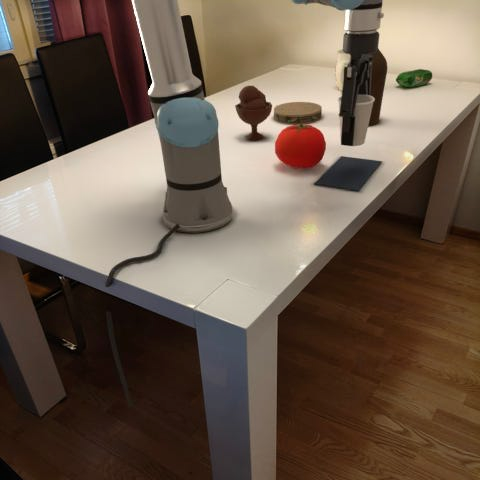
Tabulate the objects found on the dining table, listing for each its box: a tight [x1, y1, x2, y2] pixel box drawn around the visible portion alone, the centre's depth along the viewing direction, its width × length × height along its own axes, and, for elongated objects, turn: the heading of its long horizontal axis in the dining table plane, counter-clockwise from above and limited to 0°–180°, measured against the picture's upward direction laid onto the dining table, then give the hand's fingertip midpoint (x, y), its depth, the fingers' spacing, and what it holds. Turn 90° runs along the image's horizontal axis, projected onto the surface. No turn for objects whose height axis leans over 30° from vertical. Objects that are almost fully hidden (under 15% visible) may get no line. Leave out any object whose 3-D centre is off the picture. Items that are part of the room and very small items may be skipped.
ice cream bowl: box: [234, 85, 273, 142], centre depth 144 cm, size 11×11×15 cm
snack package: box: [395, 68, 433, 88], centre depth 188 cm, size 7×16×5 cm, turn 120°
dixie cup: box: [337, 94, 375, 147], centre depth 115 cm, size 8×8×10 cm
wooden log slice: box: [273, 101, 323, 126], centre depth 163 cm, size 16×16×3 cm
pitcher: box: [334, 48, 351, 92], centre depth 185 cm, size 11×18×14 cm, turn 151°
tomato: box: [274, 124, 327, 170], centre depth 125 cm, size 13×12×11 cm
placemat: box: [313, 155, 383, 192], centre depth 123 cm, size 20×11×1 cm, turn 152°
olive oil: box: [368, 48, 388, 127], centre depth 148 cm, size 11×11×25 cm
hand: (352, 139), depth 118 cm, fingers closed on dixie cup, 8 cm apart
